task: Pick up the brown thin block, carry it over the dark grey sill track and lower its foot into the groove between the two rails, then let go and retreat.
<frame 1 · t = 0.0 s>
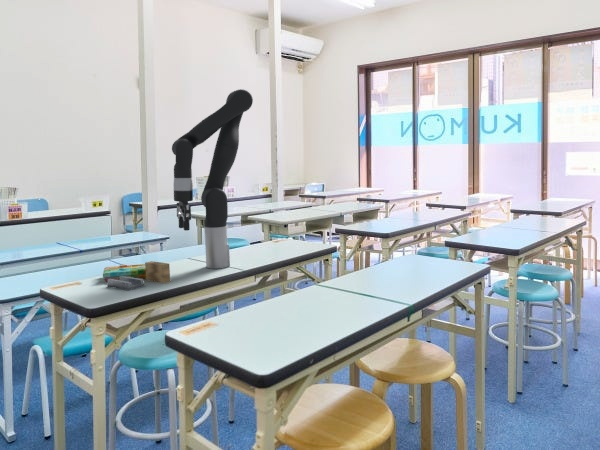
hand: (184, 229, 208), 17 cm above the table, tool pointing down, fingers open, 8 cm apart
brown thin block: (158, 281, 193), on the table
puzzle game: (131, 278, 200), on the table
sill track: (125, 286, 186), on the table
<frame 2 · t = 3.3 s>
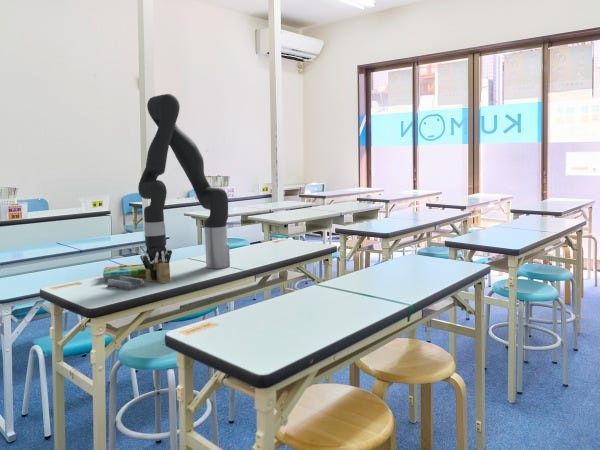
hand: (158, 278, 193), 1 cm above the table, tool pointing down, fingers closed on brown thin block, 3 cm apart
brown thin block: (158, 280, 193), on the table, touching gripper
everything else where it was.
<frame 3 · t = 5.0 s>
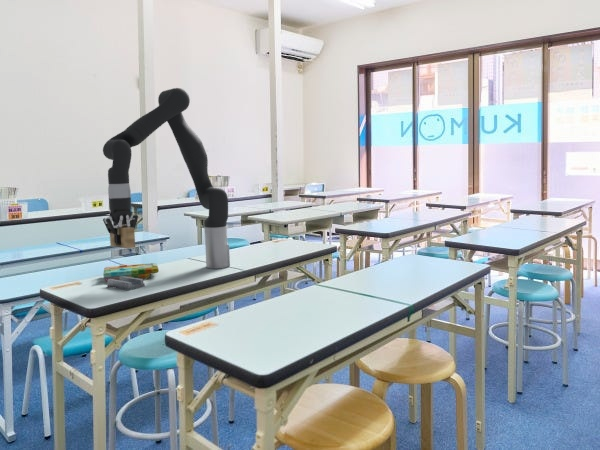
hand: (122, 244, 184), 16 cm above the table, tool pointing down, fingers closed on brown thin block, 3 cm apart
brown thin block: (122, 246, 184), point 15 cm above the table, touching gripper
everything else where it was.
when the fingers open (3 cm above the table, at t = 7.1 s): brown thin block stays where it is, resting on sill track.
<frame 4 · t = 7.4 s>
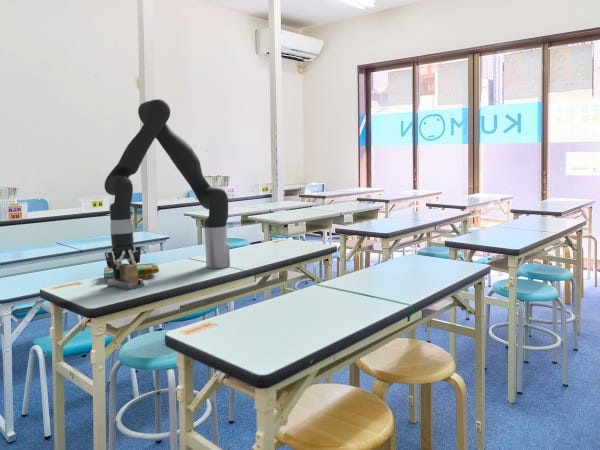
hand: (125, 277, 186), 3 cm above the table, tool pointing down, fingers open, 6 cm apart
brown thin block: (125, 283, 186), point 1 cm above the table, touching sill track
everything else where it was.
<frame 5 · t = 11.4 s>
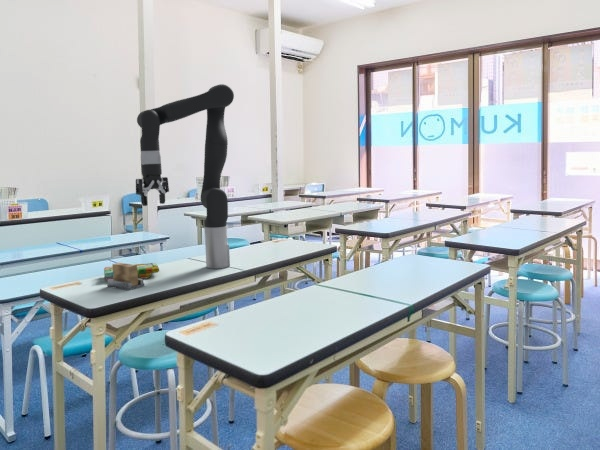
hand: (153, 204, 199), 28 cm above the table, tool pointing down, fingers open, 8 cm apart
nothing on the table moved.
at the end: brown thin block 0.1 cm from the sill track (horizontally); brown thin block point 1.0 cm above the table; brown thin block tilted 0° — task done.
